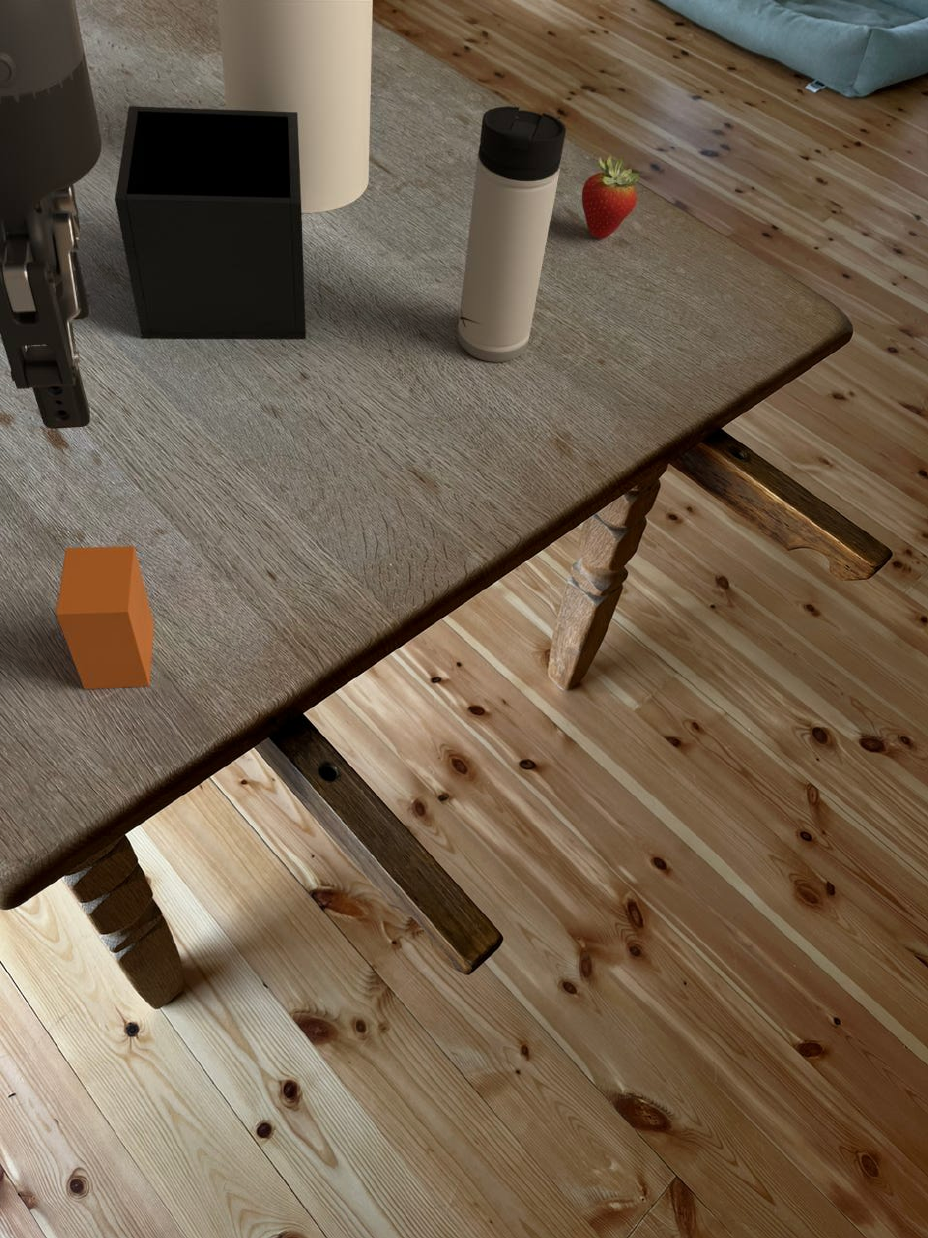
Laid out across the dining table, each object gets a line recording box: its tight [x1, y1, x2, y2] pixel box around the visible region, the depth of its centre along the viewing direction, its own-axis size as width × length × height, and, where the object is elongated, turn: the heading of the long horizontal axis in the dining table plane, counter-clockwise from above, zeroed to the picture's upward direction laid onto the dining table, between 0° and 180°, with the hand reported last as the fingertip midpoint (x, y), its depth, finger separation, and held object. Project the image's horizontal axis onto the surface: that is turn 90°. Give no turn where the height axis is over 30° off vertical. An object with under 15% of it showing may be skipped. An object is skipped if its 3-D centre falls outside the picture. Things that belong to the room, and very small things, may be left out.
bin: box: [114, 105, 307, 340], centre depth 84 cm, size 14×14×13 cm
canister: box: [216, 0, 374, 214], centre depth 93 cm, size 14×14×20 cm
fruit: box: [581, 155, 640, 240], centre depth 97 cm, size 5×5×8 cm
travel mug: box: [457, 105, 567, 363], centre depth 81 cm, size 6×7×20 cm
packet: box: [55, 545, 155, 690], centre depth 62 cm, size 4×5×8 cm
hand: (68, 367), depth 53 cm, fingers open, 8 cm apart
